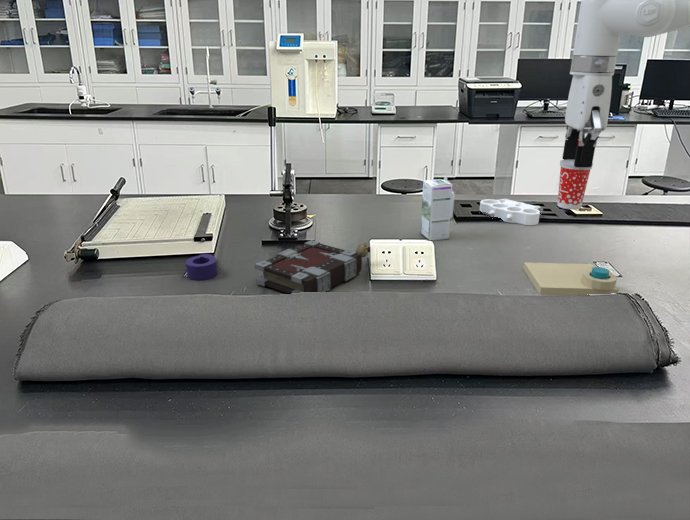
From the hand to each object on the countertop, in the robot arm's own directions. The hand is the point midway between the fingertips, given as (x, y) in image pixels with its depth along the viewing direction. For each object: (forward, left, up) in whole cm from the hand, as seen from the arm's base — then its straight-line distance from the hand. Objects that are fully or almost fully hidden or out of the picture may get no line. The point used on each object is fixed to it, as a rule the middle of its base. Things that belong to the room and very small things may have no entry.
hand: (576, 162), depth 105 cm
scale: (-1, +3, -25) cm, 25 cm away
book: (+51, +2, -25) cm, 57 cm away
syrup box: (+24, -24, -25) cm, 42 cm away
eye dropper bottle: (+20, -40, -25) cm, 51 cm away
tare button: (-6, +7, -21) cm, 23 cm away
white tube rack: (0, -43, -25) cm, 50 cm away
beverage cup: (0, 0, -9) cm, 9 cm away
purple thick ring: (+77, +1, -25) cm, 81 cm away
